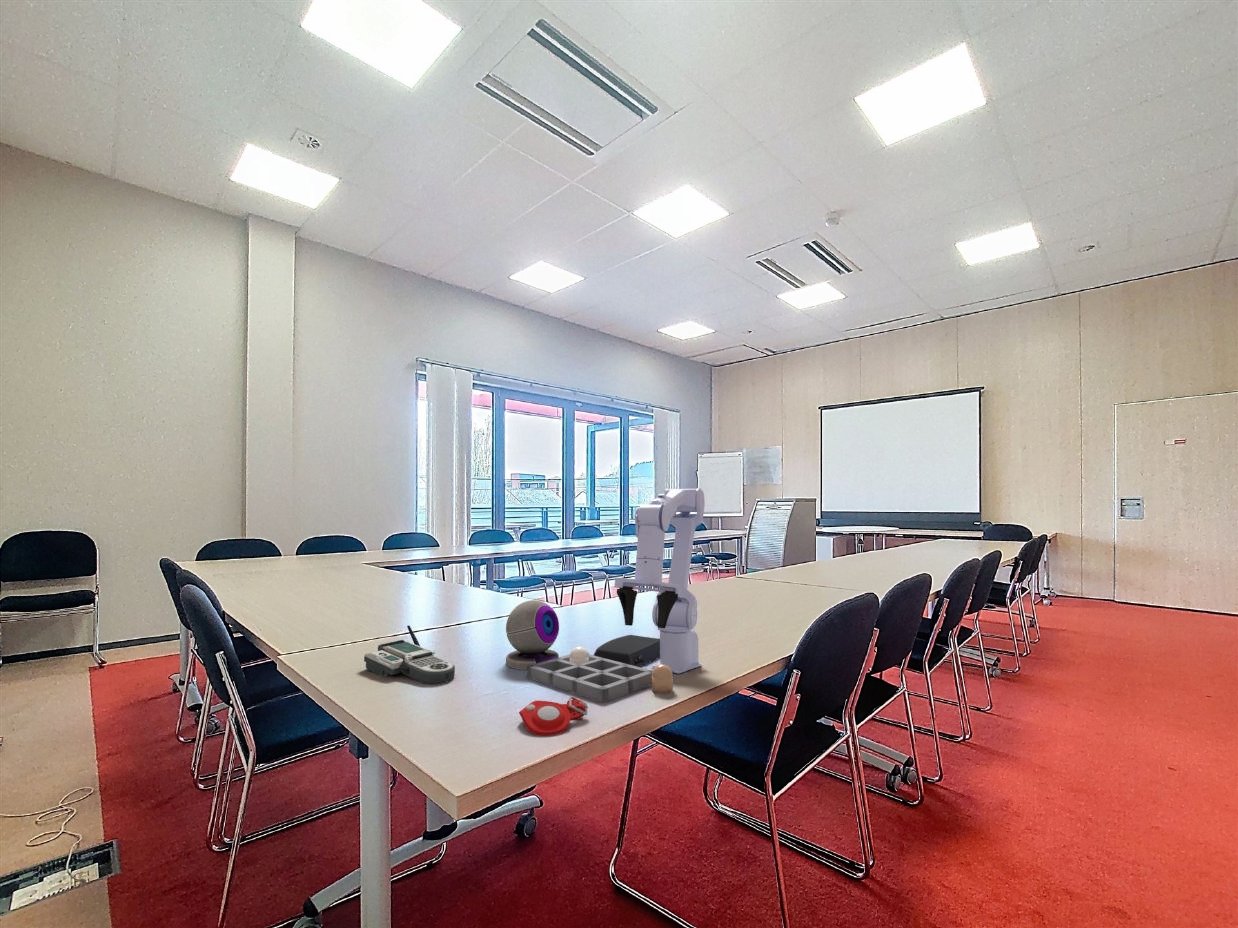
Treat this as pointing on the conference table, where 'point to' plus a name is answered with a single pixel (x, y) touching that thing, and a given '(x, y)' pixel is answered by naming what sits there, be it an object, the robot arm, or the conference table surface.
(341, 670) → the conference table surface
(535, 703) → the tracker holder
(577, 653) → the cream egg
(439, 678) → the communication device
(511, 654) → the webcam
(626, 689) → the egg crate
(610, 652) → the external hard drive
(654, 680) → the tan bulbous object
